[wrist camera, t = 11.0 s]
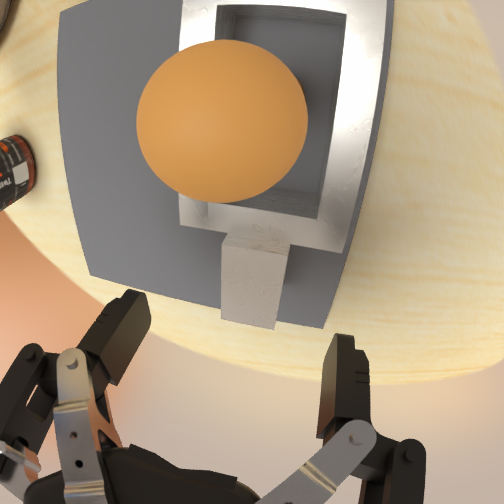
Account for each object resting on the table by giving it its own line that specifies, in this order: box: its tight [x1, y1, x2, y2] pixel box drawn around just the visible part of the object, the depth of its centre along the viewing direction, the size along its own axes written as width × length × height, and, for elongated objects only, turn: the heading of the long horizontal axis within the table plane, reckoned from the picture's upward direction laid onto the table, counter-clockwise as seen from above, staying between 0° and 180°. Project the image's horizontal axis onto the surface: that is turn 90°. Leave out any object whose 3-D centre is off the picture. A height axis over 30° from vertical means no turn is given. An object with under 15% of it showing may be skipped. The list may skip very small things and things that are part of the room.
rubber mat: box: [57, 0, 394, 329], centre depth 16 cm, size 22×20×1 cm
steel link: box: [178, 0, 387, 330], centre depth 13 cm, size 17×8×4 cm, turn 176°
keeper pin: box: [136, 39, 308, 203], centre depth 8 cm, size 3×3×11 cm
